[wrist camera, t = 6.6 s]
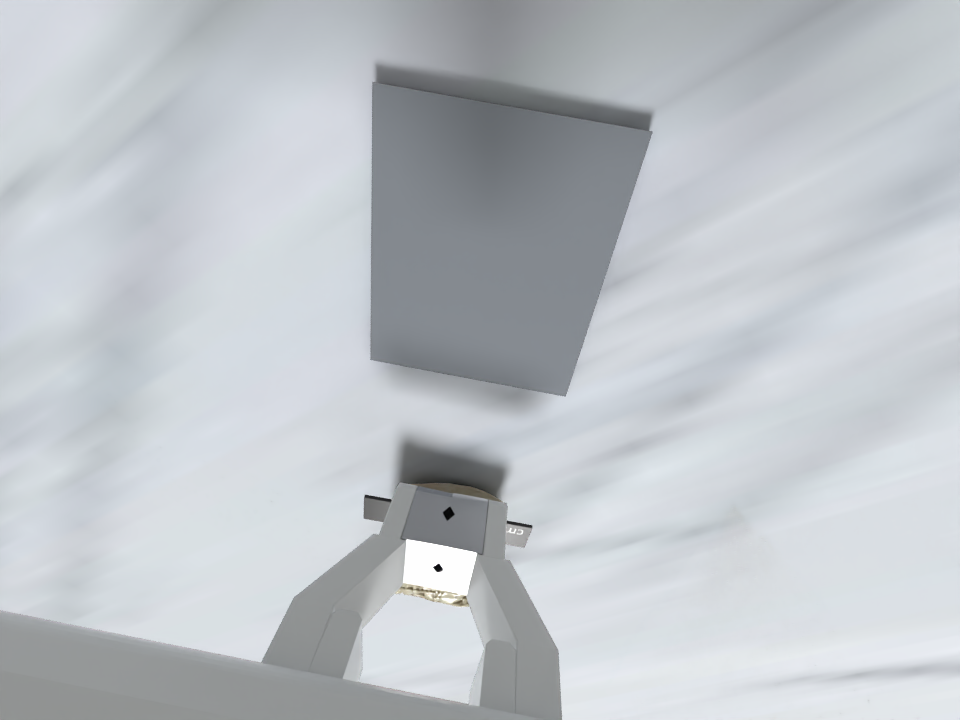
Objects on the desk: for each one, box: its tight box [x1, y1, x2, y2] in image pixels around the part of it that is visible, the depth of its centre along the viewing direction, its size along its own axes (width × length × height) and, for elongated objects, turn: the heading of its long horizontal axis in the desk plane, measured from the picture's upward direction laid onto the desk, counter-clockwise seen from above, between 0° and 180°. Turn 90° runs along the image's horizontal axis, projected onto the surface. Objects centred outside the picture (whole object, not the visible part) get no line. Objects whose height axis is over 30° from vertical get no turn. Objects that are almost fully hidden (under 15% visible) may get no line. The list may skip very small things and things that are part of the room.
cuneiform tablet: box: [364, 483, 532, 607], centre depth 22 cm, size 7×4×12 cm
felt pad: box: [370, 82, 652, 397], centre depth 16 cm, size 9×10×1 cm
